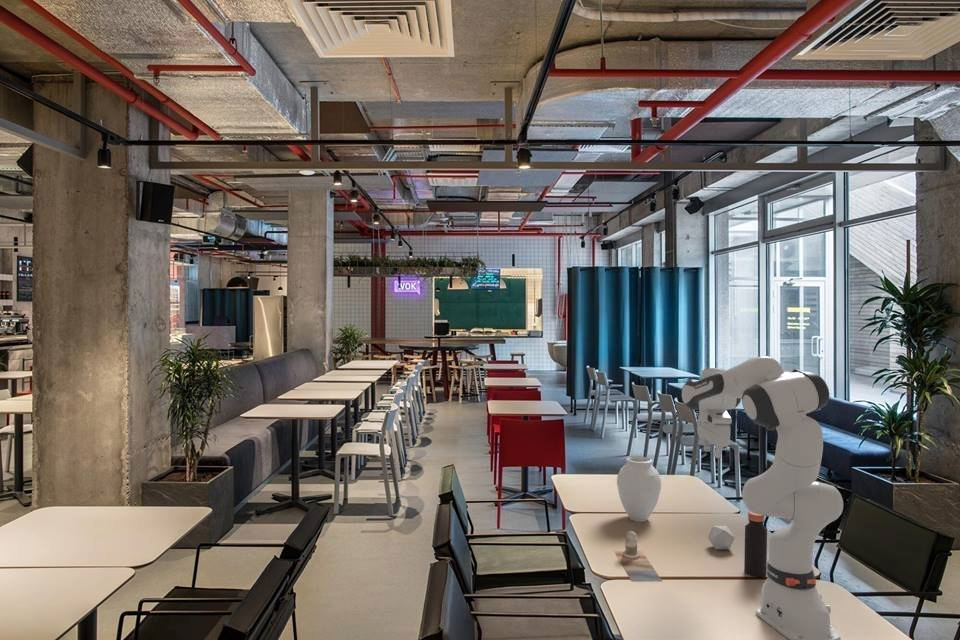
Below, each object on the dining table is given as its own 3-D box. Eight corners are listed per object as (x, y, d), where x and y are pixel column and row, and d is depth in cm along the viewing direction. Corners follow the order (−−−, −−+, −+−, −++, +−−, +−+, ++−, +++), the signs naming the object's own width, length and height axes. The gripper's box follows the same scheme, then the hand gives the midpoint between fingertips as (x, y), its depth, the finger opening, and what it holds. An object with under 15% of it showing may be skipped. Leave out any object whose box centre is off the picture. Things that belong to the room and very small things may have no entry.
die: (731, 556, 220) (741, 532, 223) (709, 543, 221) (720, 519, 224) (722, 555, 228) (732, 532, 230) (700, 542, 229) (711, 519, 232)
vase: (643, 509, 268) (644, 452, 268) (669, 523, 252) (670, 462, 251) (608, 514, 262) (608, 455, 261) (633, 528, 245) (633, 465, 245)
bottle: (739, 570, 207) (740, 510, 206) (755, 567, 209) (756, 508, 209) (755, 578, 201) (756, 517, 200) (771, 575, 203) (772, 515, 203)
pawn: (641, 559, 215) (641, 534, 215) (625, 559, 215) (625, 534, 215) (636, 552, 220) (637, 528, 220) (621, 552, 220) (621, 528, 220)
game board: (662, 582, 198) (662, 581, 198) (631, 582, 198) (631, 581, 198) (642, 552, 222) (642, 551, 222) (614, 552, 222) (614, 551, 222)
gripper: (693, 409, 224) (692, 447, 224) (715, 419, 204) (714, 461, 204) (710, 409, 224) (709, 447, 224) (734, 419, 204) (733, 461, 204)
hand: (712, 454), depth 214 cm, fingers open, 8 cm apart
